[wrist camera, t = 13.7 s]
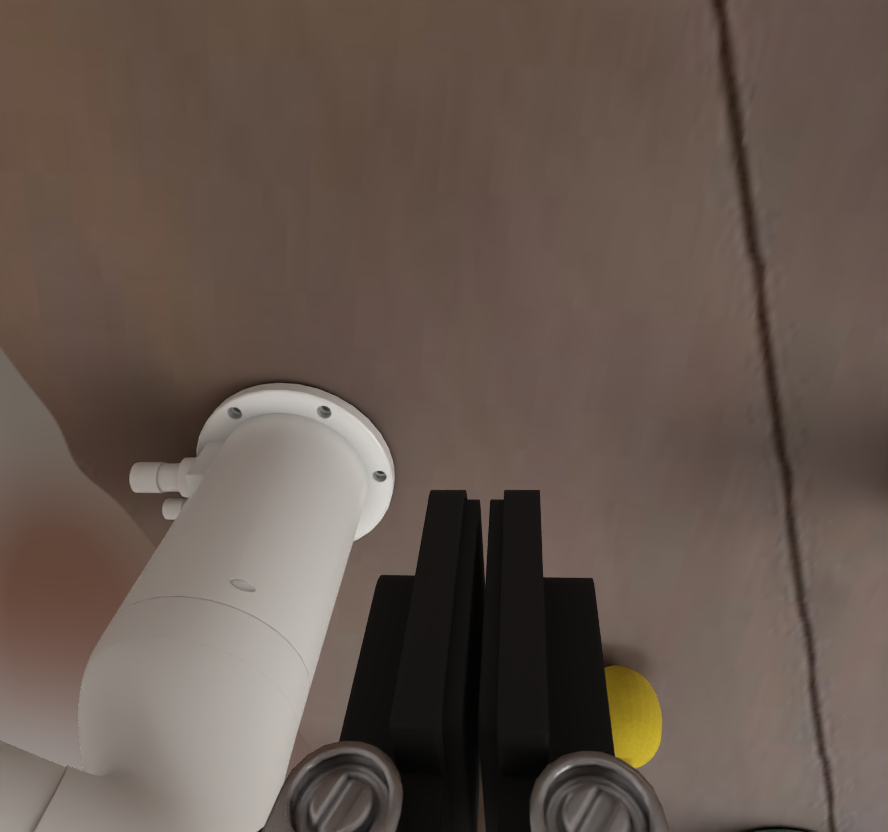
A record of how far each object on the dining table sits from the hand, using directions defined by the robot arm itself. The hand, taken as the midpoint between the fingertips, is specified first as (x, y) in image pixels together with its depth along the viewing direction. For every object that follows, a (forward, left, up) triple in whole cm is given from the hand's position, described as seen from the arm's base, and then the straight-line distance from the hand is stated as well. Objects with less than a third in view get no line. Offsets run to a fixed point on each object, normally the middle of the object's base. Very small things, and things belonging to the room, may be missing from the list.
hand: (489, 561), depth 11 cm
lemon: (+7, -37, -27) cm, 47 cm away
